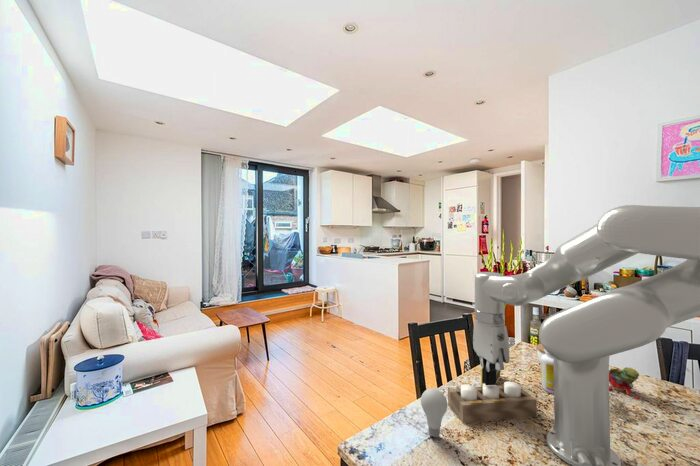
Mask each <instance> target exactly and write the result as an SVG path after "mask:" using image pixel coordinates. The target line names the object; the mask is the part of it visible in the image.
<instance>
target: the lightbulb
mask: <svg viewBox="0 0 700 466" xmlns="http://www.w3.org/2000/svg"><path fill="white" fill-rule="evenodd" d="M420 405H421V408H422V410H423V412H424V414H425V416H426V423H427V426H428V427H427V428H428V435H430V436H431V437H432V436H433V437H432V438H438V437H439V436H440V434H441V427H442V419H443V417H444V416H445V414H446V413H447V409H448V399H447V398H446V396H445V394H444V393H443V392H442V391H441V390H439V389H437V388H434V387H433V388H432V387H430V388H428V389H425V390H424V391H423V393H422V395H421V397H420Z"/></svg>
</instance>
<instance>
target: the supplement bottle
mask: <svg viewBox="0 0 700 466" xmlns="http://www.w3.org/2000/svg"><path fill="white" fill-rule="evenodd" d="M544 351H545V354H544V355H542V356H541V363H540V367H541V368H540V369H541V371H540V372H541V373H540V376H541V378H540V380H541V388H542V389H543V391H545V392H547V393H549V394H551V395H554V357H553V356H552V355H550V354H549V353H548V352H547V351H546V350H545V349H544Z"/></svg>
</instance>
